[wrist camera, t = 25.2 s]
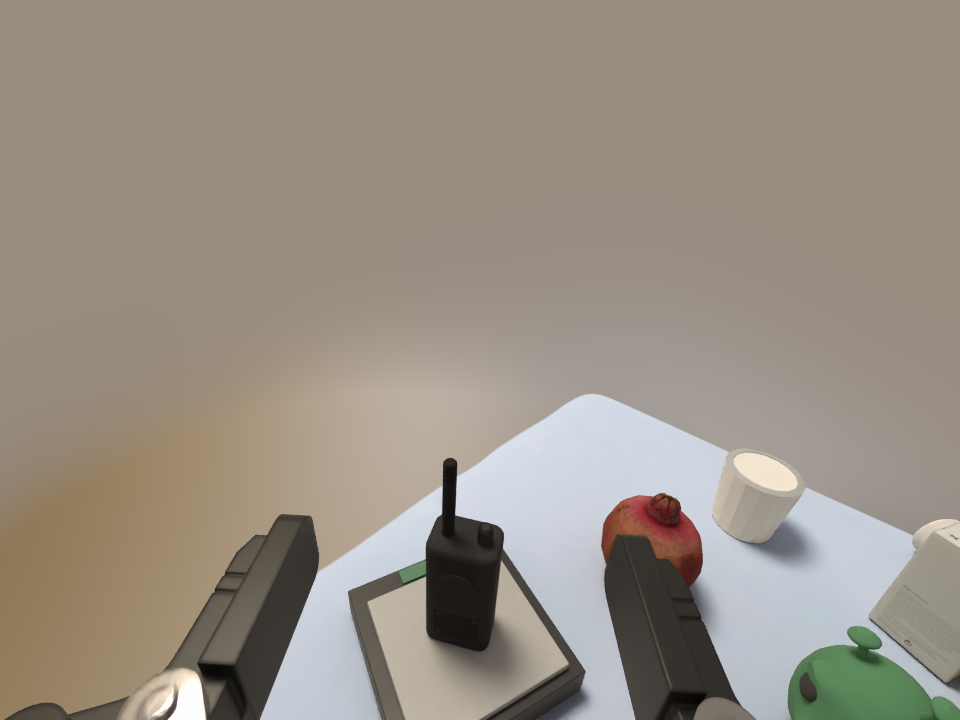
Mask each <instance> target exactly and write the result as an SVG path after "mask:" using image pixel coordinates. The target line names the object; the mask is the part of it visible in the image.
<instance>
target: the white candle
mask: <svg viewBox="0 0 960 720" xmlns="http://www.w3.org/2000/svg"><path fill="white" fill-rule="evenodd" d="M805 488H806V485H805V482H804V480H803V477H802V476H801V475H800V474H799V473H798V472H797V471H796V470H795V469H794V468H793V467H792V466H790V465H789V464H787V463H786V462H784V461H783V460H781V459H779V458H777V457H775V456H772V455H770V454H768V453H765V452H761V451H757V450H753V449H737V450H734V451H730V453H729V454H728V455H727V456H726V459H725V463H724V466H723V470H722V474H721V477H720V481H719V485H718V488H717V492H716V496H715V499H714V503H713V507H712V516H713V518H714V519H715V521H716V523H717V524H718V525H719V526H720V527H721V528H722V529H723V530H724V531H725V532H726V533H728V534H730V535H732V536H733V537H735V538H737V539H739V540H742V541H745V542H748V543H763V542H766V541H768V540H769V539H770V538H771V536H772V535H773V534H774V532H775V531H776V529H777V528H778V527H779V525H780V524H781V523H782V521H783V520H784V519H785V517H786V516H787V514H788V513H789V512H790V510H791V509H792V508H793V506H794V505H795V504H796V502H797V501H798V500H799V498H800V497H801V495H802V494H803V492H804V490H805Z"/></svg>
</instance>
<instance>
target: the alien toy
mask: <svg viewBox="0 0 960 720" xmlns="http://www.w3.org/2000/svg"><path fill="white" fill-rule="evenodd" d="M847 634H848V636H849V638H850V639H851V640H852V641H853V642H855V643H856V644H857V645H858V647H855V646H847V645H835V646H830V647H825V648H821V649H818V650H816V651H814V652H813V653H812V654H810V655H809V656H807V657H806V658H805V659H803V660H802V661H801V662H800V664H799V665H798V666H797V668H796V670H795V672H794V674H793V676H792V678H791V680H790V684H789V690H788V709H789V712H790V715H791V718H792V720H960V710H959V709H958V707H957V706H956V705H955V704H953V703H952V702H951V701H949V700H948V699H946V698H944V697H940V696H937V697H934V698H933V699H932V700H931V698H930V697H929V696H928V694H927V693H926V692H925V690H924V689H923V688H922V686H921V685H920V684H919V683H918V682H917V681H916V680H915V679H914V678H913V677H912V676H911V675H910V674H908V673H907V672H906V671H905V670H904V669H903V668H901V667H900V666H899V665H897V664H896V663H894V662H893V661H891V660H890V659H888V658H886V657H884V656H882V655H880V654H878V653H876V652H873V651H870V650H869V649H872V650H875V649H879V648H880V647H881V646H882V642H881V640H880V638H879V637H878V636H877V635H876V634H875V633H873V632H872V631H871V630H869V629H867V628H865V627H859V626H854V627H850V628H849V629H848V631H847Z"/></svg>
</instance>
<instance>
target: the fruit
mask: <svg viewBox="0 0 960 720" xmlns="http://www.w3.org/2000/svg"><path fill="white" fill-rule="evenodd" d="M616 534H628V535H645V536H647V537H648V538H649V540H650V542H651V545H652V548H653V550H654V553H655V555H656V558H661V559H669V560H670V561H671V562H672V563H673V565H674V566H675V567H676V568H677V569H678V571H679V572H680V573H681V574H682V575H683V576H684V578H685V580H686V582H687V585H688V587H689V588H690V587H691V585H692V584H693V583H694V582H695V580H696V579H697V577H698V576H699V574H700V572H701V568H702V564H703V554H702V544H701V538H700V535H699V533H698V531H697V529H696V528H695V526H694V524H693V523H692V521H691V520H690V519H689V518H688V517H687V516H686V515H685V514H684V513H683V512H682V511H681V506H680V502H679V501H678V500H677V499H676V498H673V497H672V496H668V495H666V493H660V494H657V495H656V496H654V497H652V496H642V495H638V496H634V497H631V498H628V499H625V500H623V501H621V502H620V503H619V504H618V505H617V506H616V507H615V508H614V510H613V511H612V512H611V513H610V514H609V515H608V516H607V518H606V520H605V522H604V524H603V534H602V544H601V547H602V551H603V555H604V559H605V562H606V565H607V562H608V559H609V555H610V552H611V548H612V545H613V541H614V538H615V536H616Z"/></svg>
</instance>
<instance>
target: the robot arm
mask: <svg viewBox="0 0 960 720" xmlns="http://www.w3.org/2000/svg"><path fill="white" fill-rule="evenodd" d="M318 563H319V552H318V547H317V541H316V536H315V531H314V525H313V520H312V517H311V516H303V515H286V514H281V515H280V516H278V518H277V519H276V520H275V522H274V524H273V526H272V528H271V529H270V531H269V533H268V535H255V536H254V537H253V538H252V539H251V540H250V541H249V542H247V543H246V544H245V545H244V546H243V547H242V548H241V549H240V550H239V551H238V552H237V553H236V555H235V556H234V558H233V560H232V561H231V563H230V565H229V566H228V568H227V570H226V571H225V575H224V576H222V578H221V580H220V581H219V583H218V585H217V586H216V588H215V592H214V593H212V595H211V596H210V598H209V600H208V601H207V603H206V604H205V606H204V608H203V609H202V611H201V613H200V614H199V616H198V618H197V619H196V621H195V623H194V624H193V626H192V628H191V629H190V631H189V633H188V634H187V636H186V638H185V639H184V641H183V643H182V644H181V646H180V648H179V649H178V651H177V653H176V654H175V656H174V657H173V659H172V661H171V662H170V663H169V665H168V666H167V667H166V668H165V670H164V671H163V672H161V673H159V674H156V675H155V676H153V677H151V678H150V679H148V680H147V681H146V682H144V683H143V684H142V685H141V686H139V687H138V688H137V689H136V690H135V691H134V692H133V693H132V694H131V695H130V696H128V697H126V698H123V699H120V700H117V701H114V702H110V703H107V704H103V705H100V706H96V707H93V708H90V709H86V710H83V711H79V712H76V713H72V714H69V715H68V714H67V713H66V712H65V711H64V709H63V708H62V707H60V706H59V705H57V704H54V703H40V704H36V705H32V706H29V707H27V708H24V709H22V710H20V711H18V712H16V713H14V714H13V715H11V716H10V717H8V718H6V719H5V720H260V717H261V715H262V712H263V710H264V707H265V705H266V702H267V700H268V697H269V694H270V692H271V689H272V687H273V684H274V682H275V679H276V677H277V674H278V672H279V669H280V667H281V664H282V661H283V659H284V656H285V654H286V651H287V649H288V646H289V644H290V641H291V639H292V636H293V633H294V631H295V628H296V626H297V623H298V621H299V618H300V616H301V613H302V611H303V608H304V606H305V603H306V600H307V598H308V595H309V593H310V590H311V588H312V585H313V583H314V580H315V577H316V574H317V570H318ZM604 583H605V593H606V598H607V602H608V607H609V611H610V615H611V619H612V623H613V627H614V632H615V636H616V640H617V644H618V648H619V652H620V657H621V661H622V665H623V669H624V673H625V677H626V682H627V686H628V690H629V694H630V698H631V702H632V707H633V711H634V715H635V719H636V720H756V719H755V718H754V717H753V716H752V715H751V714H750V713H749V712H748V711H747V710H745V709H744V708H743V707H742V706H741V705H740V703H739V702H738V700H737V698H736V697H735V695H734V693H733V691H732V688H731V686H730V684H729V681H728V679H727V677H726V674H725V672H724V670H723V667H722V665H721V662H720V660H719V658H718V655H717V653H716V651H715V648H714V646H713V644H712V641H711V639H710V636H709V634H708V632H707V629H706V627H705V625H704V622H702V621H701V615H700V613H699V611H698V608H697V606H696V604H694V599H693V596H692V594H691V592H690V589H689V587H688V585H687V582H686V580H685V578H684V576H683V575H682V574H681V573H680V572H679V571H678V569H677V568H676V567H675V566H674V565H673V563H672V562H671V561H670V560H669V559H661V558H656V555H655V553H654V550H653V548H652V545H651V542H650V540H649V538H648V537H647V536H645V535H628V534H616V536H615V538H614V541H613V545H612V548H611V552H610V555H609V559H608V562H607V566H606V570H605V577H604Z"/></svg>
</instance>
